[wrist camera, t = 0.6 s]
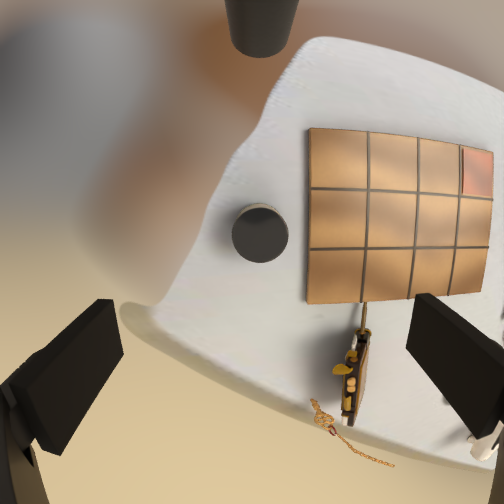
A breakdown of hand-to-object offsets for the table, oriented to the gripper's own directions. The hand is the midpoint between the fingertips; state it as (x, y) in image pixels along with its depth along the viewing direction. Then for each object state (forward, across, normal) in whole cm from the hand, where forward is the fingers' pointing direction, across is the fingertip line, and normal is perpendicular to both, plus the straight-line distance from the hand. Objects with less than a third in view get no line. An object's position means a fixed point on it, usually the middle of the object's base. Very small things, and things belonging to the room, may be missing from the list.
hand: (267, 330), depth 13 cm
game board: (+20, +17, +2) cm, 26 cm away
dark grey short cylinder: (+20, 0, +1) cm, 20 cm away
